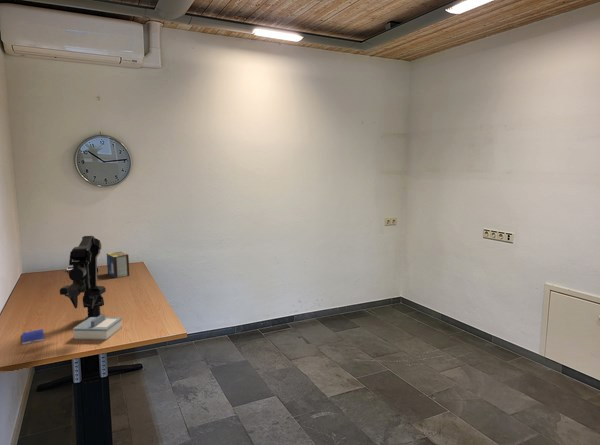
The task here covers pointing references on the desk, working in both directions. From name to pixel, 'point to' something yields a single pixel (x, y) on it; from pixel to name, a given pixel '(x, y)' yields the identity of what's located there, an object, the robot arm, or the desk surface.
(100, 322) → the lid
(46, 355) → the desk surface
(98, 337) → the box
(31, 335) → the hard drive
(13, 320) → the desk surface
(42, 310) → the desk surface
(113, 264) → the protein box
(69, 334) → the desk surface
